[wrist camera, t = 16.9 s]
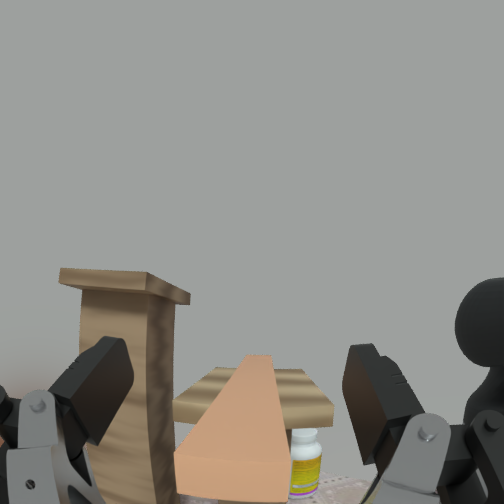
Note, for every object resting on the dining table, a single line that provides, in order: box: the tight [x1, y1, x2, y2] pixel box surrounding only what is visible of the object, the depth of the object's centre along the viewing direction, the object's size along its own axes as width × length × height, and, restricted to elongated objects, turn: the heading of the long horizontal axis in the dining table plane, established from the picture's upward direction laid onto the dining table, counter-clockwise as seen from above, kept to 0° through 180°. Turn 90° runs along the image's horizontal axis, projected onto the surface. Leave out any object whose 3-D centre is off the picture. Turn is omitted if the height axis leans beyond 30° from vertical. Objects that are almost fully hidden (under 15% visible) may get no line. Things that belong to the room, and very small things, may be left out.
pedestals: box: [59, 268, 334, 504], centre depth 22 cm, size 18×24×34 cm
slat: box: [174, 355, 291, 502], centre depth 19 cm, size 28×3×2 cm, turn 177°
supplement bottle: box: [288, 428, 322, 499], centre depth 34 cm, size 7×7×13 cm
